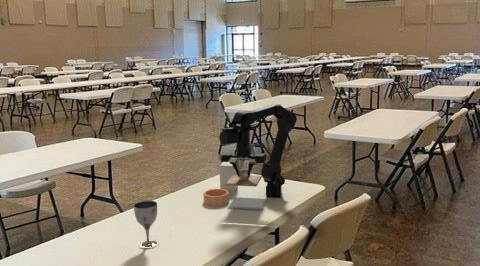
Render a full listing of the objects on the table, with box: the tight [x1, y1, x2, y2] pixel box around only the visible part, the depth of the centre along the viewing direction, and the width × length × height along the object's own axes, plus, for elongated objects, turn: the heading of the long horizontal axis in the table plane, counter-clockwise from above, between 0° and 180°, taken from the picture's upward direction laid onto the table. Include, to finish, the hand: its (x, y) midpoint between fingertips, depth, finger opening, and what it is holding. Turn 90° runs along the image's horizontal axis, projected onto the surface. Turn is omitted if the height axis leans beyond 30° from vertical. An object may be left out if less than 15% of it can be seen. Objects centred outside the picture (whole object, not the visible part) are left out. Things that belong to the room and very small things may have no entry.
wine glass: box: [133, 200, 158, 247], centre depth 163 cm, size 8×8×15 cm
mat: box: [226, 196, 269, 212], centre depth 201 cm, size 15×15×1 cm
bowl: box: [202, 188, 230, 207], centre depth 205 cm, size 11×11×4 cm
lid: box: [226, 168, 263, 188], centre depth 199 cm, size 13×13×5 cm
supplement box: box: [219, 161, 239, 192], centre depth 222 cm, size 7×7×13 cm
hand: (244, 177), depth 199 cm, fingers closed on lid, 4 cm apart
